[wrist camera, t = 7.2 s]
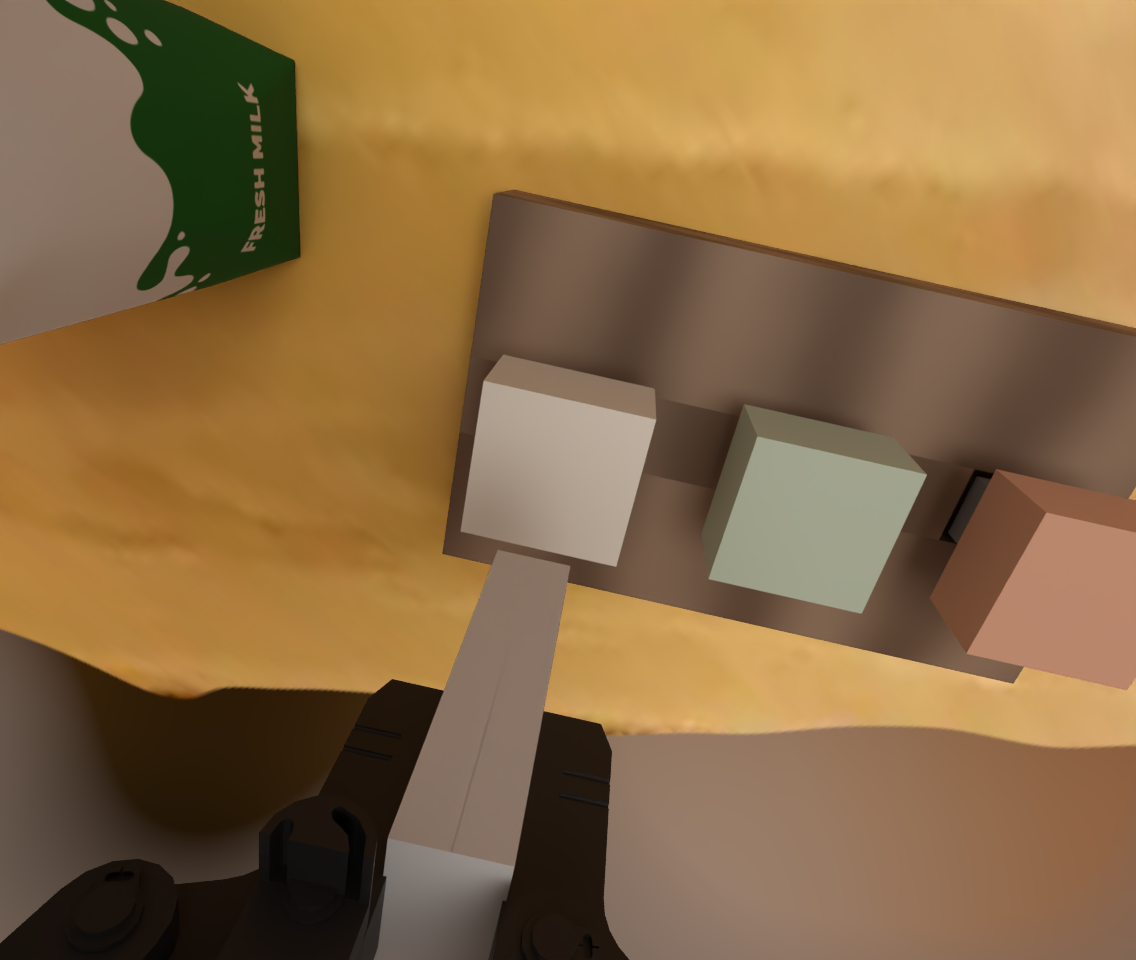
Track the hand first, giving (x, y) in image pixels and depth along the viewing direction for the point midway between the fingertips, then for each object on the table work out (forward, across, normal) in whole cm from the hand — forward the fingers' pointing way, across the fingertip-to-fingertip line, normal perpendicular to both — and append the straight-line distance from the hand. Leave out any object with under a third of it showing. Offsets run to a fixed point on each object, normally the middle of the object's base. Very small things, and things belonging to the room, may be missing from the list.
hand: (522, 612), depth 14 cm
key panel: (+16, +8, 0) cm, 18 cm away
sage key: (+13, +8, 0) cm, 16 cm away
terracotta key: (+12, +16, 0) cm, 20 cm away
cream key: (+13, 0, 0) cm, 13 cm away
